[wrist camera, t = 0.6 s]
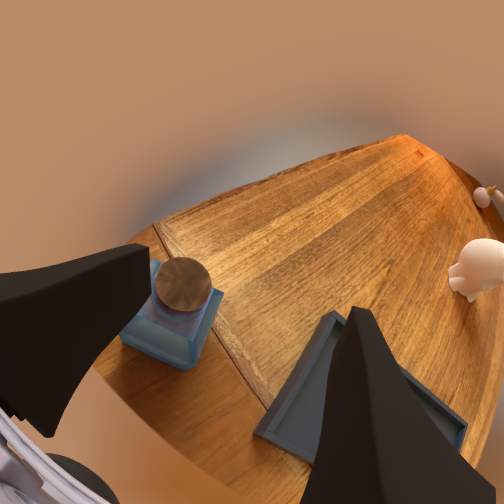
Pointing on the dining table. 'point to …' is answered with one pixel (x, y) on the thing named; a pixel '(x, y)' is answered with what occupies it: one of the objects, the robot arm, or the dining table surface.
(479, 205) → the perfume bottle
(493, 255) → the figurine
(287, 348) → the dining table surface
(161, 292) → the perfume bottle
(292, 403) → the tray
